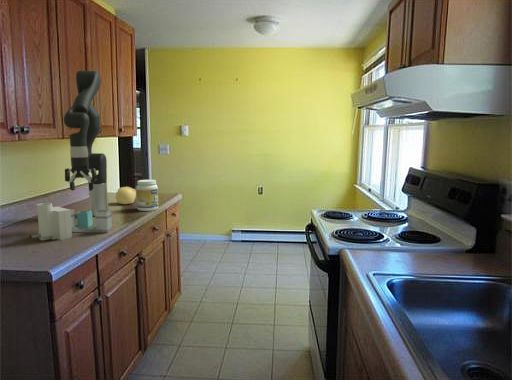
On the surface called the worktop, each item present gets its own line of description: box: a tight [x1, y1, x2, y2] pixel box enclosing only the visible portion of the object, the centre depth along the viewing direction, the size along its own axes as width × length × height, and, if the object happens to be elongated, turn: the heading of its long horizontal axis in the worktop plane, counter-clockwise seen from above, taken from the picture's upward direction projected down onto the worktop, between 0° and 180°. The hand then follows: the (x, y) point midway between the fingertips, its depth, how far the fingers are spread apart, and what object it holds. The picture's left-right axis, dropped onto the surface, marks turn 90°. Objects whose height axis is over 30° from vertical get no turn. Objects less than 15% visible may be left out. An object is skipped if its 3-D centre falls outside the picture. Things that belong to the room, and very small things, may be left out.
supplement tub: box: [135, 179, 159, 212], centre depth 222 cm, size 12×12×17 cm
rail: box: [68, 208, 113, 234], centre depth 173 cm, size 5×22×10 cm, turn 89°
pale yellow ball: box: [115, 186, 136, 205], centre depth 240 cm, size 12×12×11 cm
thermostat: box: [29, 202, 73, 241], centre depth 161 cm, size 12×14×15 cm
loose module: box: [76, 209, 94, 227], centre depth 184 cm, size 5×5×7 cm
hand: (81, 190), depth 181 cm, fingers open, 8 cm apart
